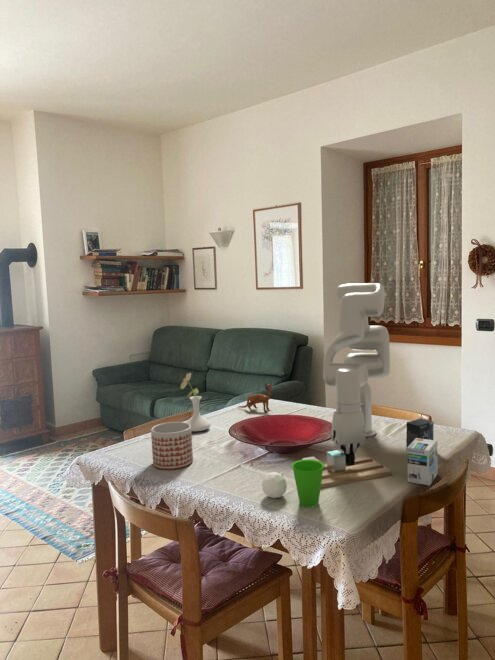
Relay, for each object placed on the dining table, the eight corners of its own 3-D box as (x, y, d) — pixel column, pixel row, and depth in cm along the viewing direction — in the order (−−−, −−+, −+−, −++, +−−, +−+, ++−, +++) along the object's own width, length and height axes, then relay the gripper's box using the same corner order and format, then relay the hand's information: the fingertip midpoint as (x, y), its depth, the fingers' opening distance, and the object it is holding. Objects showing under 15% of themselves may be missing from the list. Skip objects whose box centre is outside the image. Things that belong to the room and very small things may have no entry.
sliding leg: (327, 469, 166) (326, 451, 165) (338, 467, 167) (338, 450, 166) (334, 474, 161) (333, 456, 161) (345, 472, 163) (345, 454, 162)
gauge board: (296, 472, 168) (295, 453, 167) (367, 460, 176) (367, 442, 175) (315, 488, 154) (315, 468, 154) (391, 474, 163) (391, 455, 162)
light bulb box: (430, 486, 153) (429, 450, 152) (406, 482, 156) (406, 447, 155) (438, 473, 162) (438, 439, 161) (416, 470, 165) (415, 437, 164)
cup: (290, 497, 149) (288, 460, 148) (321, 495, 150) (320, 458, 149) (295, 511, 140) (294, 472, 139) (328, 509, 141) (327, 469, 140)
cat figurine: (235, 411, 247) (234, 382, 245) (241, 407, 252) (240, 379, 251) (270, 413, 239) (269, 384, 237) (276, 410, 245) (275, 381, 243)
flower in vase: (196, 424, 227) (193, 367, 224) (216, 428, 220) (213, 369, 218) (175, 432, 216) (171, 373, 214) (195, 436, 210) (192, 375, 207)
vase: (177, 453, 191) (175, 419, 190) (201, 461, 181) (199, 426, 180) (145, 464, 181) (143, 428, 180) (168, 473, 172) (166, 435, 170)
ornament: (264, 490, 155) (279, 467, 155) (281, 505, 150) (297, 482, 151) (252, 486, 150) (268, 462, 150) (270, 502, 145) (286, 477, 145)
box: (419, 455, 178) (419, 425, 177) (406, 451, 183) (405, 421, 182) (434, 450, 182) (434, 421, 181) (420, 446, 187) (420, 417, 186)
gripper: (362, 402, 170) (363, 456, 171) (321, 407, 165) (322, 463, 167) (375, 407, 162) (376, 464, 164) (332, 413, 158) (334, 472, 160)
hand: (349, 464), depth 166 cm, fingers closed
